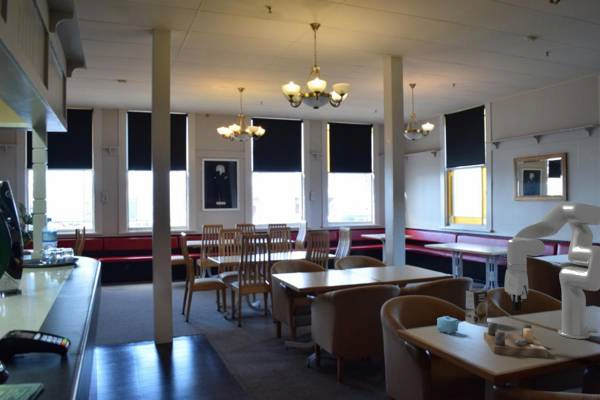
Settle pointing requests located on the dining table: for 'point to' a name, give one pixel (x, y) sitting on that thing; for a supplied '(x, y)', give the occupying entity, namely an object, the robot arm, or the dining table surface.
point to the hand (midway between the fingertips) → (516, 310)
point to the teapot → (447, 324)
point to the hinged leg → (526, 337)
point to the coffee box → (476, 306)
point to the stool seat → (512, 343)
